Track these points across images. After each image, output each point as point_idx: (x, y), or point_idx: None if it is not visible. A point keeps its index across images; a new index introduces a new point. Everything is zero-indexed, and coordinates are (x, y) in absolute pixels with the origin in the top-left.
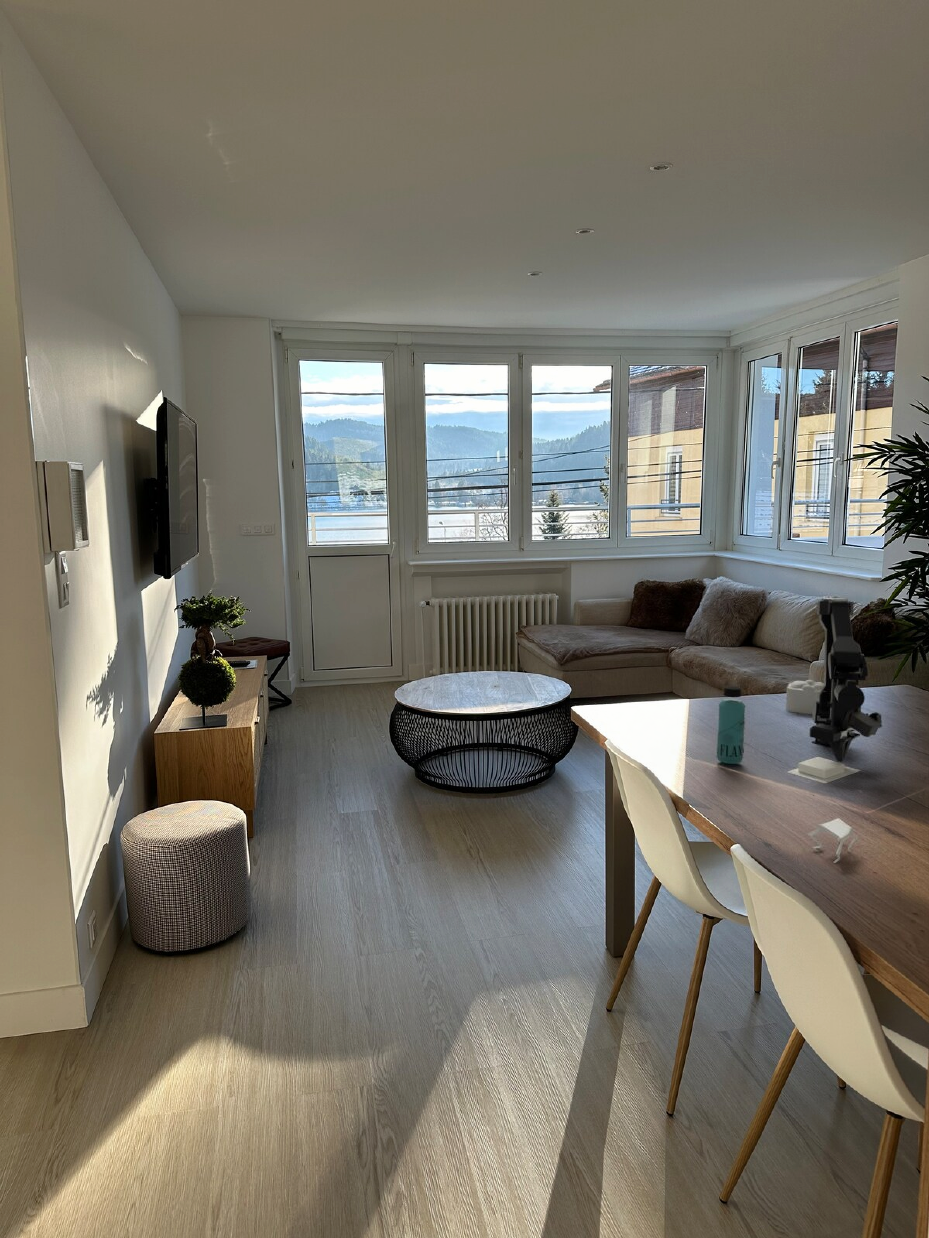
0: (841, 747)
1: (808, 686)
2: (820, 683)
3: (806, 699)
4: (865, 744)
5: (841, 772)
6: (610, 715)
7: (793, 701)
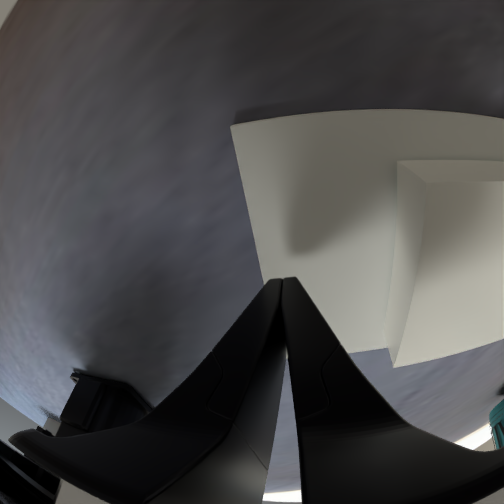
0: (362, 379)
1: None
2: None
3: None
4: (27, 343)
5: (428, 161)
6: None
7: None
